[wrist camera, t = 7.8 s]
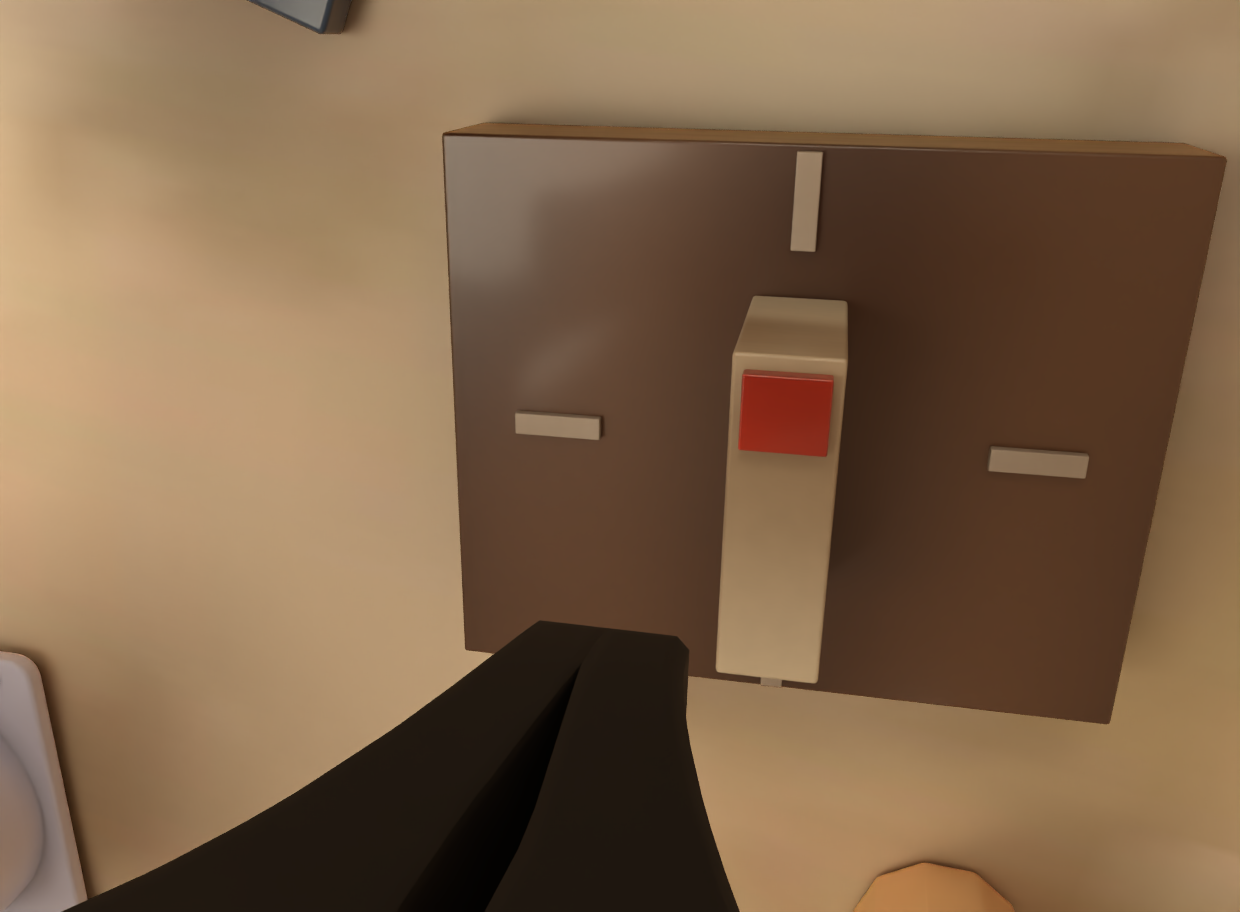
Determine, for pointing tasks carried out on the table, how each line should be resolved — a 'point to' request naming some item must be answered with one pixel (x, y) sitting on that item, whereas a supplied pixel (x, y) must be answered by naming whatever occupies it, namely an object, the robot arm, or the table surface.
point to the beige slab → (781, 486)
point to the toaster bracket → (311, 13)
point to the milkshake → (932, 892)
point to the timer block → (874, 396)
